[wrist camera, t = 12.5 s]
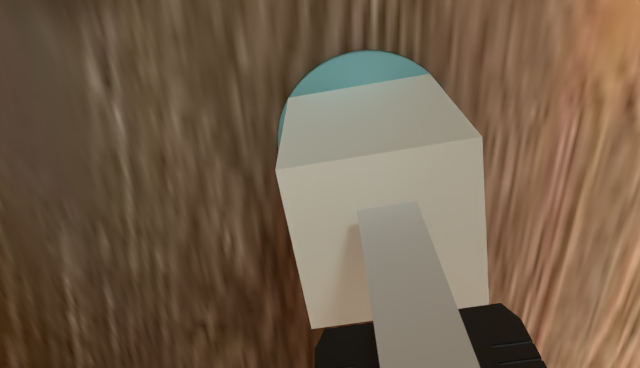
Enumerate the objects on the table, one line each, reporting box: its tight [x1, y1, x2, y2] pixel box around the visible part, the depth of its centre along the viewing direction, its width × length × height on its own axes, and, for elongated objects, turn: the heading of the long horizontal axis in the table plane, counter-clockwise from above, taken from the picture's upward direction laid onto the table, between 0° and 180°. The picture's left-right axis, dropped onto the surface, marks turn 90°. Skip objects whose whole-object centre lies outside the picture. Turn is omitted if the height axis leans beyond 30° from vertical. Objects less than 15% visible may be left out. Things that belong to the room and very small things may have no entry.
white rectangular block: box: [275, 74, 489, 329], centre depth 17 cm, size 5×5×7 cm
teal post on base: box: [278, 50, 442, 150], centre depth 18 cm, size 7×7×7 cm
